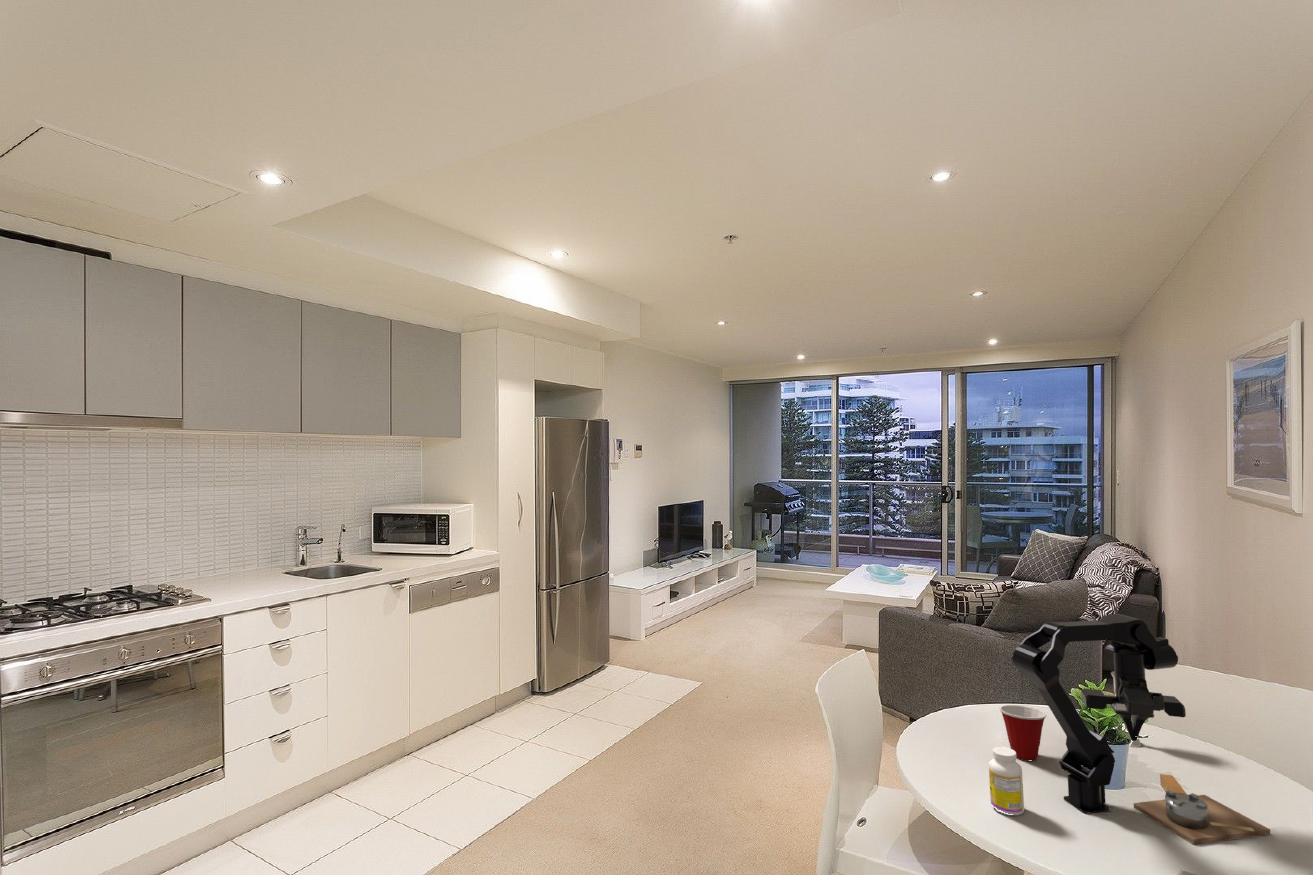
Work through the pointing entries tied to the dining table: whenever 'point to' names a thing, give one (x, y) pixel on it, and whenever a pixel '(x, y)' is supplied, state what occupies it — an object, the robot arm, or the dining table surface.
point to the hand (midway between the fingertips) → (1133, 740)
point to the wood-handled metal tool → (1183, 804)
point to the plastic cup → (1023, 729)
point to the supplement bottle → (1006, 781)
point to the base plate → (1219, 818)
